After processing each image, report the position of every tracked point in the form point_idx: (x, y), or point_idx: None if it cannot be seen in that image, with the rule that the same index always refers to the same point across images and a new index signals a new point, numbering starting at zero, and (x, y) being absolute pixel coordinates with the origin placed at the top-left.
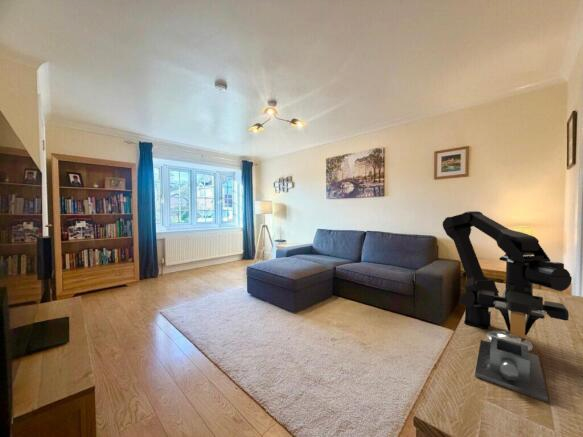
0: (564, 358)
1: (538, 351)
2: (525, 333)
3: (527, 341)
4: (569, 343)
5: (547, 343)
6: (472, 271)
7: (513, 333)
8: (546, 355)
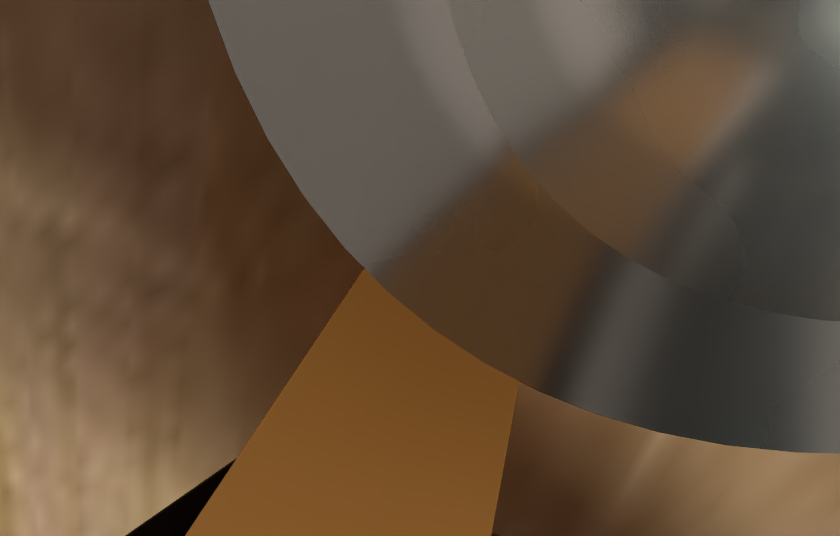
0: (39, 227)
1: (235, 296)
2: None
3: (262, 17)
4: (25, 497)
5: (150, 469)
6: None
7: (580, 214)
8: (175, 229)
